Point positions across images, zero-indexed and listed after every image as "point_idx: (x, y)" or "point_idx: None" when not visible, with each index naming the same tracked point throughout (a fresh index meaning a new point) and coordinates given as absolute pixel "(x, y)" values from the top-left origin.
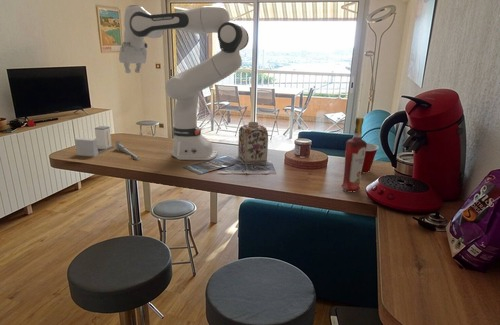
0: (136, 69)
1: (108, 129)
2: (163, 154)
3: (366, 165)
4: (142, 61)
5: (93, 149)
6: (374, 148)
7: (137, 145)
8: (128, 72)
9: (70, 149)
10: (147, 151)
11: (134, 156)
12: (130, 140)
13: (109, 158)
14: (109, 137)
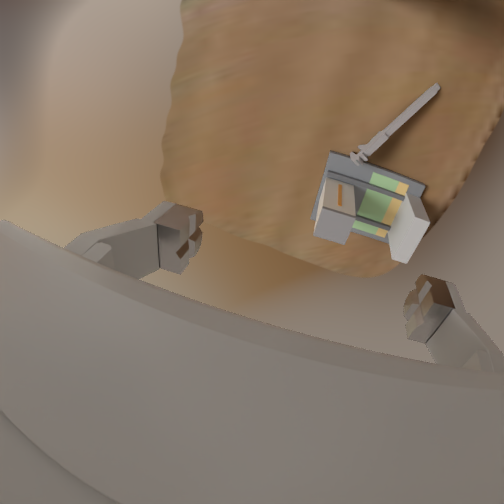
0: (183, 252)
1: (330, 206)
2: (380, 18)
3: None
4: (30, 257)
5: (424, 209)
6: None
7: (279, 111)
8: (452, 289)
9: (327, 262)
10: (350, 67)
11: (430, 98)
12: (223, 148)
13: (417, 162)
14: (330, 192)
